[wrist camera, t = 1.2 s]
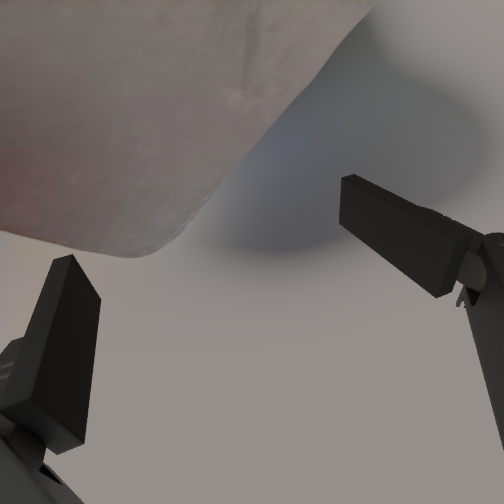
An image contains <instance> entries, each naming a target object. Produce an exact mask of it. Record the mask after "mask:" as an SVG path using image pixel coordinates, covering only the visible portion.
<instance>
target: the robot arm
mask: <svg viewBox="0 0 504 504" xmlns="http://www.w3.org/2000/svg"><path fill="white" fill-rule="evenodd" d="M339 224H340V225H342V226H343V227H344V228H346V229H347V230H348V231H349V232H351V233H352V234H353V235H355V236H356V237H357V238H359V239H360V240H361V241H362V242H364V243H365V244H367V245H368V246H369V247H370V248H371V249H373V250H374V251H375V252H377V253H378V254H379V255H381V256H382V257H383V258H384V259H386V260H387V261H388V262H390V263H391V264H392V265H394V266H395V267H396V268H397V269H399V270H400V271H401V272H403V273H404V274H405V275H406V276H408V277H409V278H411V279H412V280H413V281H414V282H416V283H417V284H418V285H420V286H421V287H422V288H423V289H425V290H426V291H427V292H428V293H430V294H431V295H432V296H434V297H435V298H438V297H441V296H443V295H446V294H448V293H451V292H452V290H453V287H454V285H455V282H456V280H457V281H459V282H460V283H462V284H463V288H462V290H461V292H460V295H459V297H458V300H457V303H456V307H459V306H460V304H461V302H462V301H464V304H465V306H464V308H466V311H467V315H468V319H469V322H470V326H471V330H472V334H473V338H474V341H475V345H476V348H477V353H478V356H479V360H480V364H481V367H482V371H483V374H484V379H485V382H486V386H487V389H488V394H489V397H490V401H491V405H492V409H493V412H494V416H495V420H496V424H497V427H498V431H499V435H500V439H501V442H502V446H503V449H504V233H490V234H486V235H484V234H481V233H479V232H477V231H475V230H473V229H471V228H469V227H467V226H465V225H463V224H461V223H459V222H457V221H455V220H453V221H452V219H451V218H449V217H447V216H443V214H441V213H439V212H436V211H434V210H432V209H428V208H425V207H420V206H417V205H415V204H413V203H411V202H409V201H407V200H405V199H403V198H401V197H399V196H397V195H395V194H393V193H391V192H389V191H387V190H385V189H383V188H381V187H379V186H377V185H375V184H373V183H371V182H369V181H367V180H365V179H363V178H361V177H359V176H357V175H355V174H353V175H349V176H345V177H342V178H341V196H340V214H339ZM100 305H101V298H100V297H99V295H98V294H97V292H96V291H95V289H94V287H93V286H92V284H91V283H90V281H89V279H88V278H87V276H86V274H85V273H84V271H83V270H82V268H81V266H80V265H79V263H78V262H77V260H76V258H75V257H74V256H73V254H71V255H68V256H64V257H61V258H57V259H54V260H53V262H52V265H51V267H50V270H49V272H48V275H47V278H46V280H45V283H44V286H43V288H42V291H41V294H40V296H39V299H38V301H37V304H36V307H35V309H34V312H33V315H32V317H31V320H30V322H29V325H28V327H27V330H26V333H25V335H24V337H22V338H19V339H15V340H13V341H11V342H10V343H9V344H8V346H7V347H6V348H5V349H4V350H3V352H2V353H1V354H0V504H84V503H83V502H82V501H81V499H80V498H79V497H78V496H77V495H76V494H75V493H74V492H73V491H72V490H71V489H70V488H69V487H68V486H67V485H66V484H65V483H64V482H63V481H62V480H61V478H60V477H59V476H58V475H57V474H56V473H55V472H54V471H53V470H52V469H51V468H50V467H49V466H48V465H46V464H45V463H43V460H44V455H45V451H46V447H47V448H48V449H49V450H51V451H52V452H54V453H55V454H56V455H58V454H61V453H63V452H66V451H68V450H70V449H73V448H75V447H78V446H80V445H82V444H84V443H85V434H86V425H87V417H88V408H89V400H90V391H91V382H92V374H93V366H94V357H95V348H96V339H97V331H98V323H99V314H100Z"/></svg>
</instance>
